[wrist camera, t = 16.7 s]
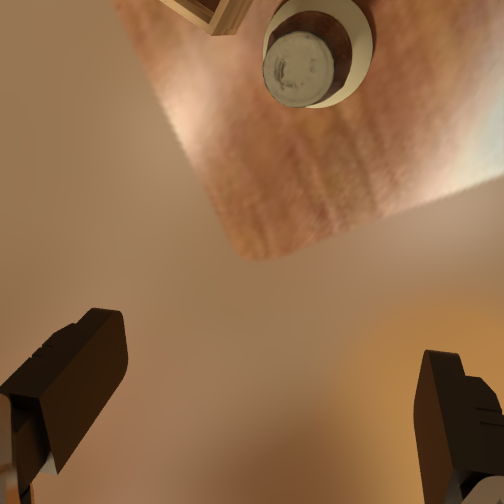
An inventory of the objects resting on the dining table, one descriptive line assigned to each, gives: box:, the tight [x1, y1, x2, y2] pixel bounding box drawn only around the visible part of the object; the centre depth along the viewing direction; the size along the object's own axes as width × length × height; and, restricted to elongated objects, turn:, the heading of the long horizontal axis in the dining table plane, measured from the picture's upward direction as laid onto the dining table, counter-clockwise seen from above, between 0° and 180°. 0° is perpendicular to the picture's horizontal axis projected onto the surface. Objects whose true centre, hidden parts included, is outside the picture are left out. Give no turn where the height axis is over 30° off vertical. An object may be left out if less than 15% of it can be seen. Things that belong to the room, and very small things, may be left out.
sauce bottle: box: [263, 10, 353, 108], centre depth 35 cm, size 6×6×20 cm
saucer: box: [263, 0, 373, 108], centre depth 44 cm, size 10×10×1 cm
